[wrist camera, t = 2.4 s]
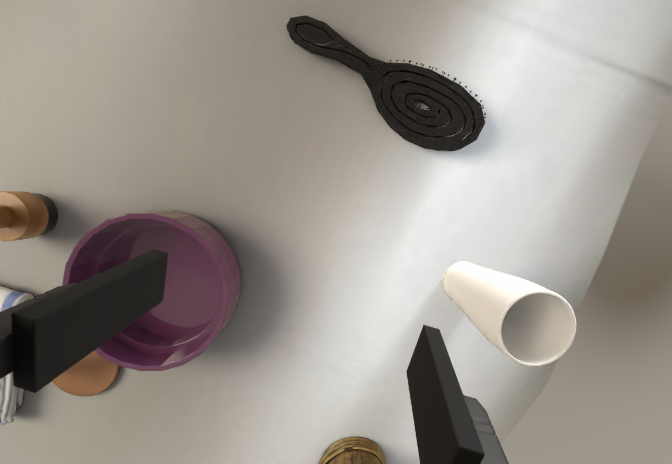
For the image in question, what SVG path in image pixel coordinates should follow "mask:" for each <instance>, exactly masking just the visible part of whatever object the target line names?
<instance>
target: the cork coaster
mask: <svg viewBox="0 0 672 464" xmlns="http://www.w3.org/2000/svg"><path fill="white" fill-rule="evenodd" d="M119 369H120V366H119V365H117V364H115V363H113V362H111V361H109V360H107V359H105V358H103V357H101V356H100V355H99V354H97V353H96V352H95V351H93V352H91V353H90V354H89V355H87V356H86V357H84V358H83V359H82V360H80V361H79V362H77V363H76V364H75V365H73V366H72V367H71V368H69V369H68V370H66V371H65V372H64V373H62V374H61V375H59V376H58V377H57V378H55V379H54V380H52V382H53V383H54V384H55V385H56V386H57V387H58V388H60V389H61V390H63V391H65V392H67V393H69V394H72V395H76V396H91V395H95V394H98V393H100V392H102V391H104V390H105V389H106V388H108V387H109V386H110V385H111V384H112V383H113V382H114V381H115V379H116V377H117V375H118V373H119Z"/></svg>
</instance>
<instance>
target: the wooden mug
mask: <svg viewBox="0 0 672 464" xmlns="http://www.w3.org/2000/svg"><path fill="white" fill-rule="evenodd" d="M319 464H386V460H385V456H384V454H383V452H382V450H381V449H380V447H379V446H378V445H376V444H375V443H374V442H373V441H370V440H368V439H366V438H360V437H350V438H344V439H340V440H338V441H336V442H335V443H333V444H331V446H330V447H329V448H328V449H327V450H326V451H325V452H324V454H323V456H322V458H321V459H320V462H319Z"/></svg>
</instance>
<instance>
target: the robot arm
mask: <svg viewBox="0 0 672 464" xmlns="http://www.w3.org/2000/svg"><path fill="white" fill-rule="evenodd" d="M167 261H168V253H167V252H164V251H160V250H156V249H153V250H150V251H148V252H146V253H144V254H142V255H139V256H137V257H135V258H133V259H131V260H128V261H126V262H124V263H122V264H119V265H117V266H115V267H113V268H111V269H108V270H106V271H104V272H102V273H100V274H97V275H95V276H93V277H91V278H88V279H86V280H84V281H82V282H80V283H77V284H76V283H72V284H68V285H64V286H59V287H56V288H54V289H52V290H50V291H47V292H45V293H44V294H40V295H38V296H36V297H33V299H29V300H27V301H24V302H22V303H20V304H17V305H15V306H13V307H10V308H8V309H6V310H4V311H1V312H0V379H1V378H3V377H5V376H6V375H8V374H10V373H11V372H13V385H14V387H17V388H21V389H24V390H27V391H30V392H34V393H36V392H37V391H39V390H40V389H41V388H43V387H44V386H45V385H47V384H48V383H50V382H51V381H52V380H54V379H55V378H57V377H58V376H59V375H61V374H62V373H64V372H65V371H66V370H68V369H69V368H71V367H72V366H73V365H75V364H76V363H77V362H79V361H80V360H82V359H83V358H84V357H86V356H87V355H89V354H90V353H91V352H93V351H94V350H96V349H97V348H98V347H100V346H101V345H102V344H104V343H105V342H107V341H108V340H109V339H111V338H112V337H114V336H115V335H116V334H118V333H119V332H121V331H122V330H123V329H125V328H126V327H128V326H129V325H130V324H132V323H133V322H134V321H136V320H137V319H139V318H140V317H141V316H143V315H144V314H146V313H147V312H148V311H150V310H151V309H153V308H154V307H155V306H157V305H158V304H160V303H161V302H162V301H163V296H164V288H165V279H166V270H167ZM407 378H408V385H409V391H410V398H411V405H412V411H413V418H414V425H415V431H416V438H417V445H418V452H419V458H420V464H509V463H508V461H507V459H506V456H505V454H504V452H503V449H502V447H501V445H500V442H499V440H498V438H497V435H495V431H494V428H493V426H492V425H491V421H490V419H489V417H488V414H487V412H486V410H485V409H484V408H483V407H482V405H481V404H480V403H479V402H478V400H477V399H475V398H471V397H468V396H465V395H463V393H462V390H461V388H460V385H459V382H458V379H457V377H456V374H455V371H454V369H453V366H452V363H451V360H450V358H449V355H448V352H447V349H446V347H445V344H444V341H443V338H442V336H441V333H440V330H439V329H436V328H433V327H429V326H426V325H423V328H422V331H421V334H420V336H419V339H418V342H417V345H416V347H415V350H414V353H413V355H412V358H411V361H410V364H409V366H408V369H407ZM0 388H1V385H0Z"/></svg>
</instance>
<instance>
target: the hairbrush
mask: <svg viewBox="0 0 672 464" xmlns="http://www.w3.org/2000/svg"><path fill="white" fill-rule="evenodd" d="M286 26H287V30H288V32H289V35H290V37H291V39H292V40H293V41H294V42H295V43H296V44H297V45H299V46H301V47H302V48H304V49H306V50H308V51H309V52H311V53H314V54H317V55H320V56H324V57H327V58H330V59H334V60H336V61H338V62H340V63H342V64H344V65H346V66H347V67H349V68H351V69H353V70H355V71H356V72H358V73H360V74H361V75H362V76H363V78H364V80H365V82H366V84H367V85H368V87H369V89H370V91H371V94H372V97H373V99H374V102H375V104H376V107H377V109H378V111H379V113H380V114H381V116H382V117H383V119H384V120H385V121H386V122H387V124H388V125H389V126H390V128H391V129H393V130H394V131H395V132H396V133H398V134H399V135H400V136H401V137H403V138H404V139H405V140H407V141H409V142H411V143H414V144H416V145H418V146H420V147H423V148H425V149H433V150H438V151H440V150H445V151H455V150H458V149H461V148H463V147H465V146H466V145H468V144H470V143H472V142H474V141H475V140H477V138H478V136H479V134H480V132H481V130H482V128H483V126H484V124H485V120H484V118H486V117H484V116H483V111H482V109H483V108H484V107H483V108H482V107H481V104H480V103H479V102H478V101H477V100H475V99H474V97H472V96H471V95H470V94H469V93H468V92H467V91H466V90H465V89H464V88H463V87H462V86H461V85H459V84H460V83H461V82H460V83H459V84H457V83H455V82H453V81H451V80H449V79H448V78H446V77H444V76H442V75H440V74H438V73H436V72H434V71H432V70H430V69H426V68H423V66H424V64H423V66H422V67H419V66H416V65H412V64H410V63H409V64H407V63H386V62H383V61H380V60H377V59H374V58H371V57H369V56H368V55H366V54H365V53H363V52H362V51H361V50H359V49H358V48H356V47H355V46H353V45H352V44H351V43H349V42H348V41H346V40H345V39H344V38H343V37H341V36H340V35H339V34H338V33H337V32H335V31H334V30H333V29H332V28H331V27H330V26H328V25H327V24H326V23H324V22H322V21H319V20H316V19H314V18H311V17H309V16H300V17H294V18H291V19H290V20H289V22H288V24H287V25H286ZM296 28H297V33H298V34H297V33H296ZM332 40H333V43H332ZM305 41H306V42H305ZM397 61H398V60H396V62H397ZM403 61H404V60H403ZM390 62H391V60H390ZM409 62H411V61H409ZM416 64H417V63H416ZM421 65H422V63H421ZM430 67H431V66H429V68H430ZM432 69H433V68H432ZM436 70H437V68H436ZM436 70H435V71H436ZM389 73H390V74H389ZM442 73H443V71H442ZM442 73H441V74H442ZM444 74H445V72H444ZM444 74H443V75H444ZM448 76H449V75H448ZM383 77H384V79H383V80H382V82H381V87H380V93H379V85H380V80H381V79H382V78H383ZM454 79H455V78H454ZM455 80H456V79H455ZM455 80H454V81H455ZM395 84H396V85H395ZM394 85H395V86H394ZM393 87H394V88H393ZM465 87H467V86H465ZM392 88H393V89H392ZM391 89H392V91H391ZM390 92H391V95H390ZM470 92H471V91H470ZM418 94H419V95H418ZM380 95H381V96H380ZM475 95H476V94H475ZM476 96H478V95H476ZM390 97H391V99H392V100H391V99H390ZM406 97H407V98H406ZM405 98H406V99H405ZM382 100H383V102H384V104H385V106H386V107H385V106H384V104H383V103H382ZM392 101H393V102H392ZM413 101H415V102H416V101H417V103H418V102H421V103H424V104H425V105H426V106H428V107H429V108H430V110H424V109H419V108H420V107H419V108H416V107H415V106H416V105H414V103H415V102H413ZM481 101H482V100H481ZM481 101H480V102H481ZM404 103H405V104H404ZM405 105H406V106H405ZM420 106H421V105H420ZM482 106H483V105H482ZM386 108H387V109H386ZM429 108H426V109H429ZM396 109H397V110H396ZM437 114H438V116H437V117H435V116H436V115H437ZM391 115H392V116H393V117H394V118H395V119H396V120H395V119H394V118H393V117H392V116H391ZM449 115H450V116H449ZM484 115H486V113H485V114H484ZM425 117H426V118H425ZM433 117H434V118H433ZM427 118H430V119H427ZM449 120H450V122H449ZM414 122H415V123H414ZM448 122H449V124H447V123H448ZM417 123H418V124H417ZM446 124H447V125H446ZM444 125H446V126H444ZM463 125H464V127H463ZM439 126H444V127H439ZM430 127H433V128H430ZM462 127H463V129H462V131H461V132H459V133H457V132H458V131H460V130H461V128H462ZM408 129H409V130H411V131H409V130H408ZM412 131H413V132H412ZM471 131H472V132H471ZM414 132H415V133H414ZM470 132H471V133H470ZM456 133H457V134H456ZM469 133H470V134H469ZM453 134H456V135H454V136H452V137H445V136H451V135H453ZM468 134H469V135H468ZM467 135H468V136H467ZM466 136H467V137H466ZM428 137H429V138H428ZM430 137H436V138H430ZM464 137H466V138H465V139H463V138H464ZM462 139H463V140H462Z"/></svg>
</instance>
